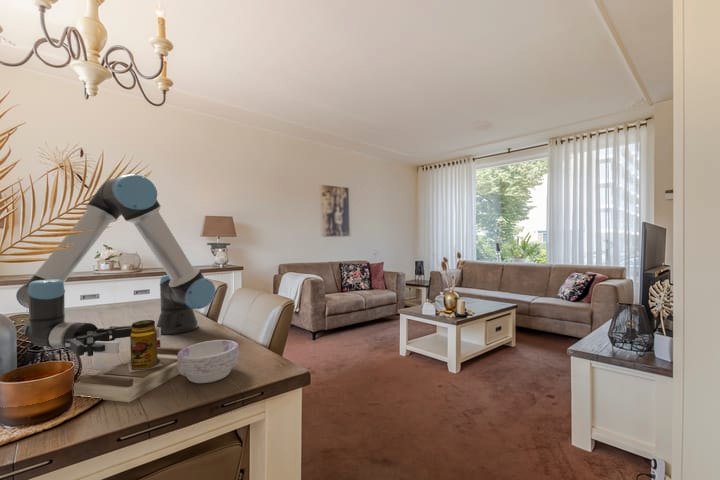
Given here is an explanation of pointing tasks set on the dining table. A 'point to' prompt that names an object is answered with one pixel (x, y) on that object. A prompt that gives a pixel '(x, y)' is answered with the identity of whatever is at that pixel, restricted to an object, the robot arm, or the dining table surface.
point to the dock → (129, 379)
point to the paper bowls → (208, 360)
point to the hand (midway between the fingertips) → (140, 339)
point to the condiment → (143, 346)
